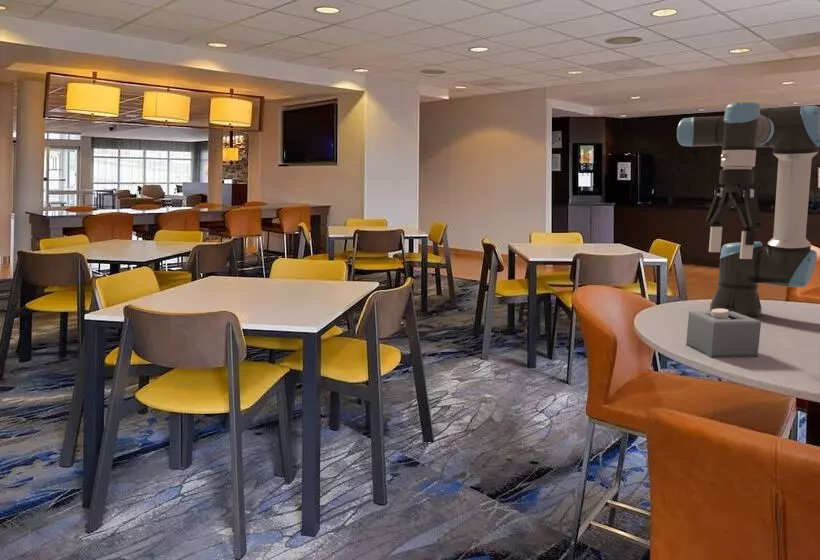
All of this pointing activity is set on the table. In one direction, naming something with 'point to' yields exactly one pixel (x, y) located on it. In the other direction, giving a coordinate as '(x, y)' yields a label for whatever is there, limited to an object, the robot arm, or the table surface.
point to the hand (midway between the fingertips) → (729, 255)
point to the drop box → (723, 335)
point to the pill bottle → (720, 313)
